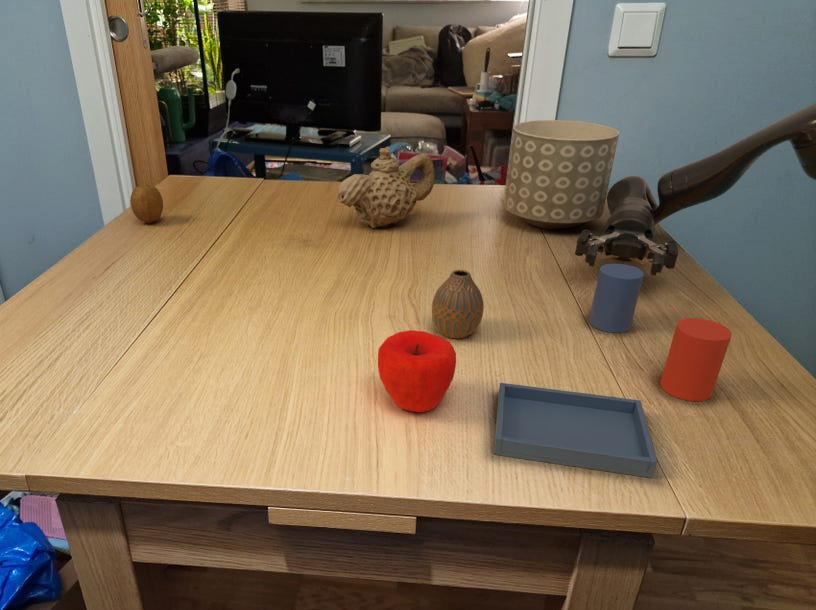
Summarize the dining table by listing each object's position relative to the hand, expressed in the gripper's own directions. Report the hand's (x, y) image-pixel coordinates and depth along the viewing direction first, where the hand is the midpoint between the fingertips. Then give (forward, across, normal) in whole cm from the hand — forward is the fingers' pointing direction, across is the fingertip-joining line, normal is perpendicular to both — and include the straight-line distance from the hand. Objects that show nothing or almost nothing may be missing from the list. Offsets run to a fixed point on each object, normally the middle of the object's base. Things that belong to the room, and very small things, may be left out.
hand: (622, 264), depth 97 cm
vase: (+19, +19, -6) cm, 28 cm away
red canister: (+22, -10, -6) cm, 25 cm away
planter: (-36, +15, -6) cm, 39 cm away
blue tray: (+37, +2, -6) cm, 38 cm away
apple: (+38, +19, -6) cm, 43 cm away
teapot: (-21, +45, -6) cm, 50 cm away
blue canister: (+7, 0, -6) cm, 10 cm away
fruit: (-3, +88, -6) cm, 88 cm away
